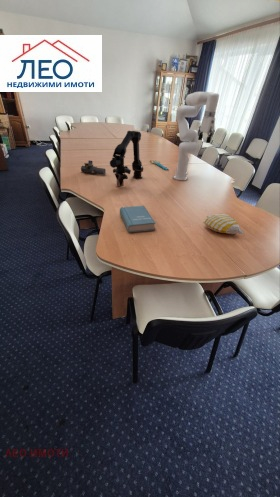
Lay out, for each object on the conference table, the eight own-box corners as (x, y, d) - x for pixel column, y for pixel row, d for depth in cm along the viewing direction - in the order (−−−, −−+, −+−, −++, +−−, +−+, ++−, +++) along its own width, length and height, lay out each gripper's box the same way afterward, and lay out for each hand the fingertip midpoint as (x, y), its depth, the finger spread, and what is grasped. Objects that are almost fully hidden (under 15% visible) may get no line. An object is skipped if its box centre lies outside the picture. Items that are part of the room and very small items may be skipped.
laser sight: (102, 176, 199) (102, 165, 193) (79, 173, 202) (78, 162, 196) (106, 173, 207) (106, 162, 201) (83, 170, 210) (82, 159, 204)
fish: (254, 225, 128) (232, 232, 118) (249, 236, 132) (228, 244, 123) (221, 208, 144) (199, 213, 134) (217, 218, 149) (196, 224, 139)
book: (154, 230, 131) (155, 222, 128) (128, 232, 126) (128, 225, 124) (143, 212, 148) (143, 205, 145) (119, 214, 144) (120, 207, 141)
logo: (149, 161, 250) (149, 160, 250) (157, 160, 253) (157, 160, 252) (160, 170, 225) (160, 169, 224) (168, 170, 227) (168, 169, 227)
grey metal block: (118, 187, 177) (118, 180, 174) (116, 185, 180) (116, 179, 177) (123, 186, 179) (123, 180, 176) (121, 184, 182) (122, 178, 179)
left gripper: (134, 167, 165) (133, 187, 175) (125, 160, 179) (125, 179, 188) (120, 168, 162) (120, 189, 171) (112, 161, 175) (112, 180, 184)
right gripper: (222, 116, 149) (215, 143, 159) (206, 113, 162) (201, 138, 172) (213, 116, 146) (207, 144, 157) (197, 112, 159) (193, 139, 169)
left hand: (120, 184), depth 179 cm, fingers closed on grey metal block, 4 cm apart
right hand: (203, 141), depth 164 cm, fingers open, 9 cm apart
